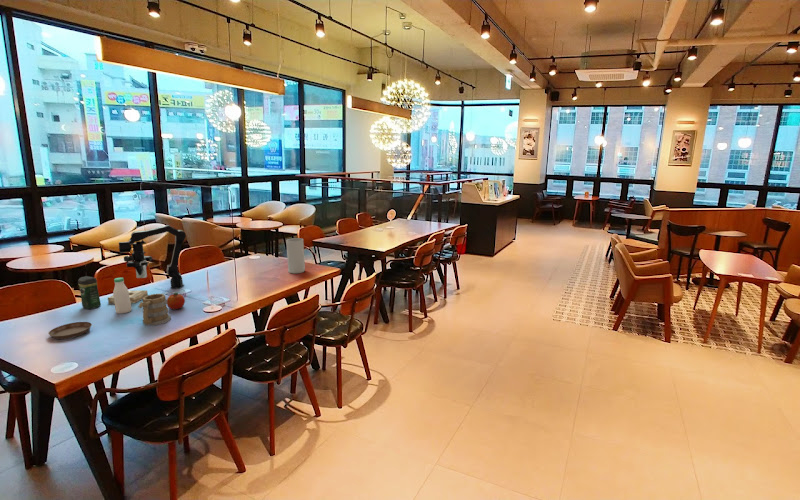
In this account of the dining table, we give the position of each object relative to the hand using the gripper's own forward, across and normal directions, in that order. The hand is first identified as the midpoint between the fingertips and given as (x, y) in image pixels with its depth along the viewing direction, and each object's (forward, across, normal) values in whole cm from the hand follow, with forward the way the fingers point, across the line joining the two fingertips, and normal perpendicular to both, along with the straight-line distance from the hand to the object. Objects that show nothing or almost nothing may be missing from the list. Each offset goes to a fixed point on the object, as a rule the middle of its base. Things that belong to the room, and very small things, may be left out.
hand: (141, 274), depth 280 cm
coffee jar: (+13, +27, -15) cm, 34 cm away
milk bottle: (+12, +35, +9) cm, 38 cm away
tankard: (+12, +52, +37) cm, 65 cm away
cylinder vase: (+12, -50, +89) cm, 102 cm away
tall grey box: (+2, 0, 0) cm, 2 cm away
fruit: (+12, +29, +37) cm, 49 cm away
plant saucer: (+13, +66, +2) cm, 67 cm away
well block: (+12, +14, -1) cm, 19 cm away
